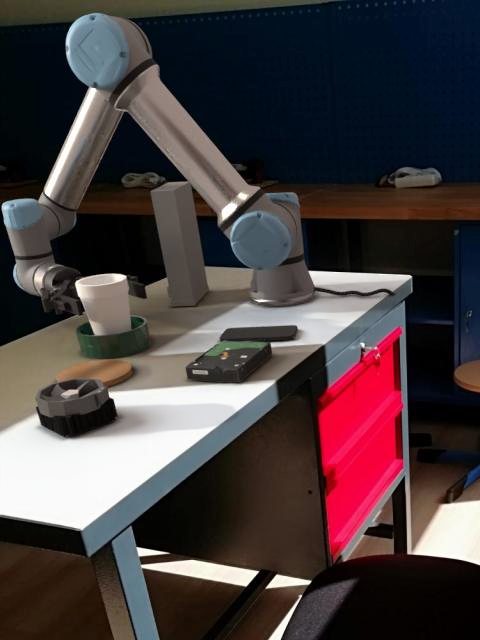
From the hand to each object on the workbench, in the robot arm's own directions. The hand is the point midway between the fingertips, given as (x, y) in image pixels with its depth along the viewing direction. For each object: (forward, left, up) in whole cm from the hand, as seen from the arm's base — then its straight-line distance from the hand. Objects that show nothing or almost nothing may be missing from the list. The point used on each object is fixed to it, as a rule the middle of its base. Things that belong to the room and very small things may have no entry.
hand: (112, 299), depth 145 cm
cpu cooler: (-11, +33, -10) cm, 37 cm away
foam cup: (+3, -2, -10) cm, 10 cm away
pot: (+3, -2, -10) cm, 10 cm away
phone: (-24, -11, -10) cm, 28 cm away
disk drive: (-26, +7, -10) cm, 29 cm away
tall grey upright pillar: (+4, -37, -10) cm, 38 cm away
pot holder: (-2, +14, -10) cm, 18 cm away
